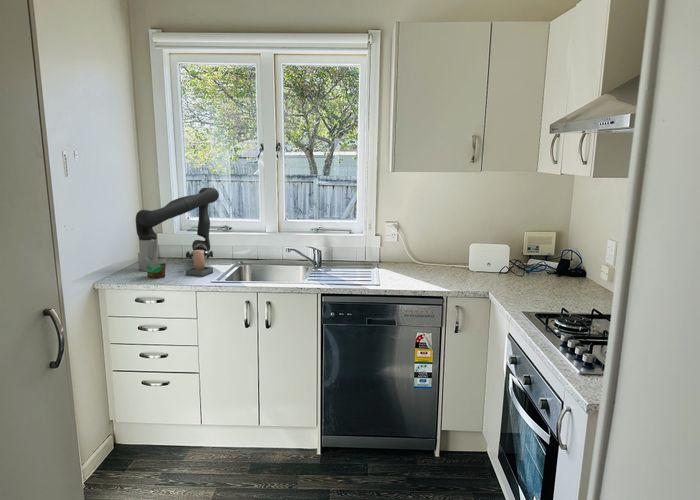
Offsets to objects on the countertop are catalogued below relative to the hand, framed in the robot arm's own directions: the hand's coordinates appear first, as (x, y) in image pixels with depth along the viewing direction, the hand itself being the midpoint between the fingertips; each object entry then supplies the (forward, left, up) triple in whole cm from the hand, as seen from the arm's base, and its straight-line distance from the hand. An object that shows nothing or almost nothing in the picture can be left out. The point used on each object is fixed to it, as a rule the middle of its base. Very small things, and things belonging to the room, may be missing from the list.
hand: (199, 257), depth 257 cm
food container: (-16, -17, -9) cm, 25 cm away
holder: (+1, -1, -9) cm, 9 cm away
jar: (0, -1, -8) cm, 8 cm away
